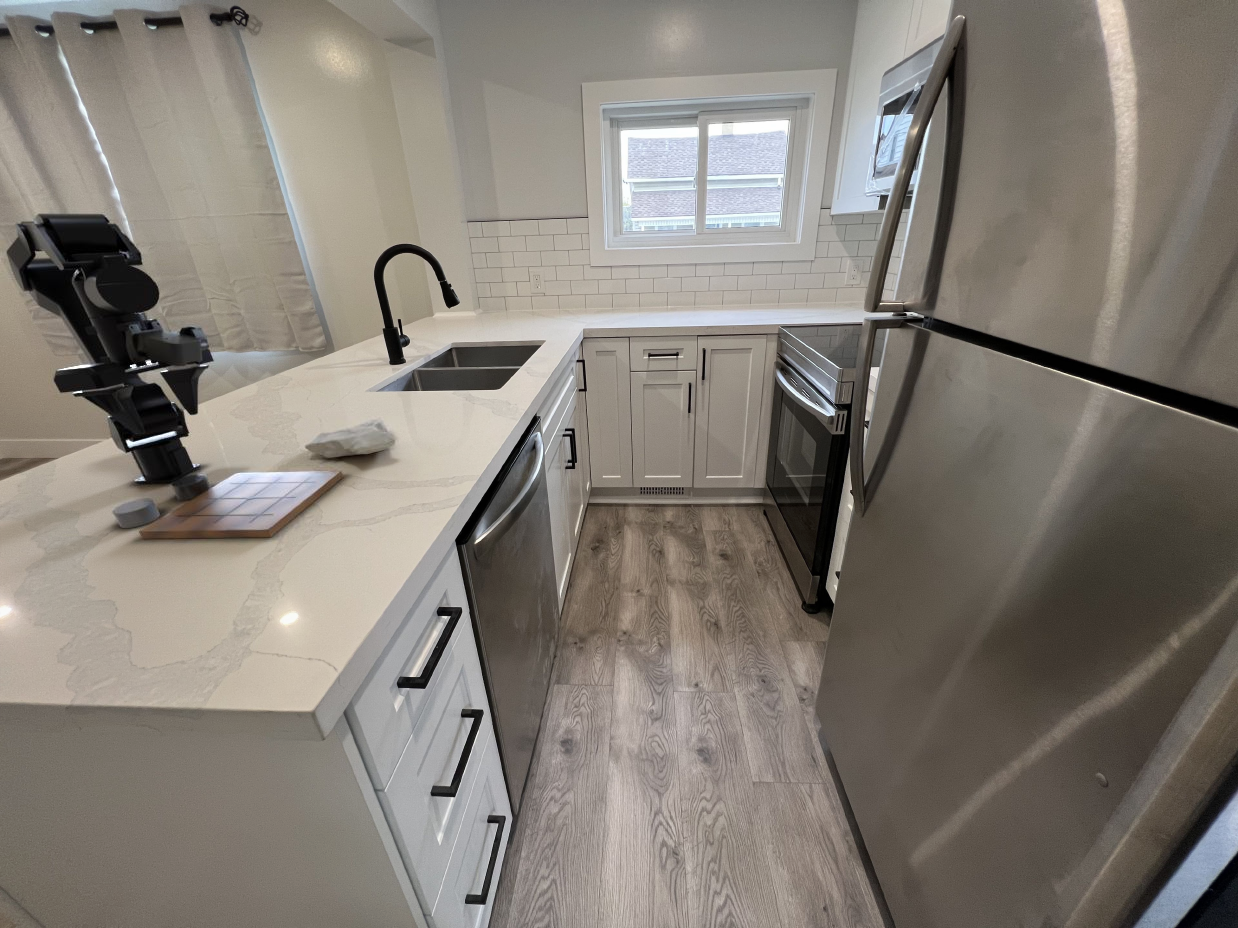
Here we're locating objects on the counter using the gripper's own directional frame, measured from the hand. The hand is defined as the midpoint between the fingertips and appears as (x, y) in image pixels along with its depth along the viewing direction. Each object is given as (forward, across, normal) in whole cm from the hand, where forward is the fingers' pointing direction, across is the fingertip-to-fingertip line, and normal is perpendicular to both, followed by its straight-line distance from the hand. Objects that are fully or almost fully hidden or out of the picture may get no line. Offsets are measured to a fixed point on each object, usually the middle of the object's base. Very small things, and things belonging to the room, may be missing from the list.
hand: (168, 423), depth 74 cm
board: (+13, -4, -11) cm, 17 cm away
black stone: (+12, 0, +2) cm, 12 cm away
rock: (+12, +16, -16) cm, 26 cm away
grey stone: (+12, -8, +3) cm, 15 cm away
